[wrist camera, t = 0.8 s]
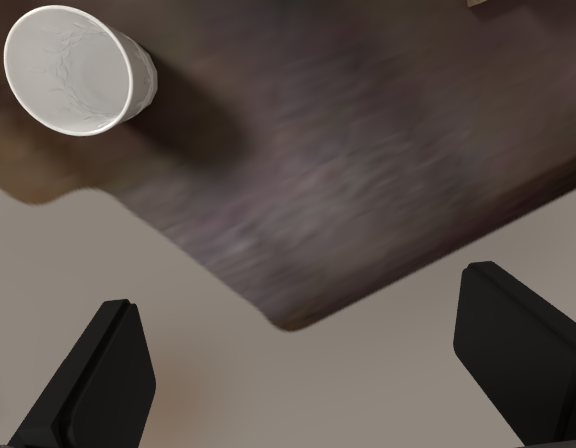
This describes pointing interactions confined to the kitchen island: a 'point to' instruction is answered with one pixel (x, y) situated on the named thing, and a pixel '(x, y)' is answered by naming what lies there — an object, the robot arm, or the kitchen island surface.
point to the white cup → (77, 71)
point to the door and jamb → (474, 2)
